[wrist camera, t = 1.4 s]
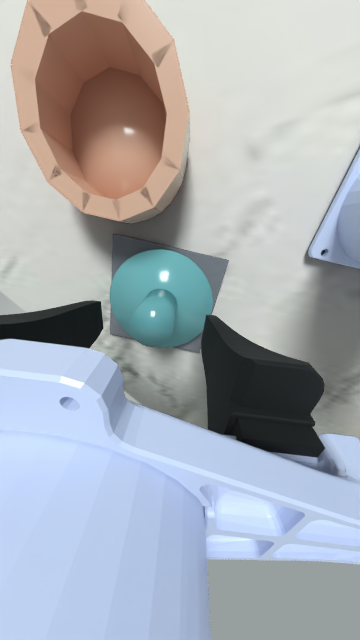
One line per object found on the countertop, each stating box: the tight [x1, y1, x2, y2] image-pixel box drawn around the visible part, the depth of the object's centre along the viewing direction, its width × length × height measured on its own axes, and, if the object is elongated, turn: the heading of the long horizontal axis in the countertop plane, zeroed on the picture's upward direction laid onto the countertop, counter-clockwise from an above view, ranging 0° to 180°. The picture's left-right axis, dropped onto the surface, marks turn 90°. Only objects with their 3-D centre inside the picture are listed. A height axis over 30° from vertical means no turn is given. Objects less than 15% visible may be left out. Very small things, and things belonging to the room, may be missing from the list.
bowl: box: [11, 0, 190, 224], centre depth 10 cm, size 8×8×3 cm
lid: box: [110, 249, 213, 347], centre depth 13 cm, size 9×9×5 cm
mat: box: [110, 234, 229, 352], centre depth 16 cm, size 9×9×1 cm
